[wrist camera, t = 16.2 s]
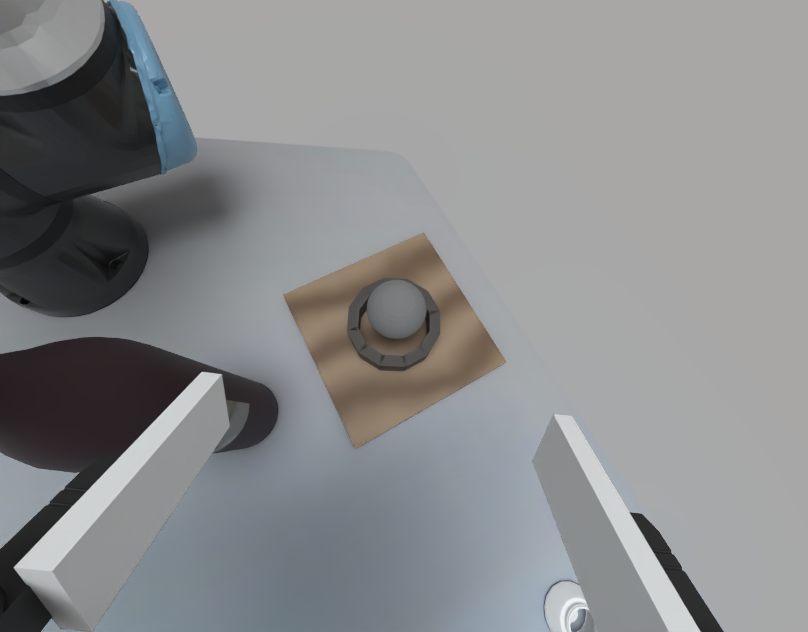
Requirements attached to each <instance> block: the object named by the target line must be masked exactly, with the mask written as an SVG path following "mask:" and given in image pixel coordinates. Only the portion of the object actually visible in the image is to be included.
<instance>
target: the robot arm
mask: <svg viewBox="0 0 808 632" xmlns="http://www.w3.org/2000/svg"><path fill="white" fill-rule="evenodd" d="M196 153H197V144H196V141H195V138H194V135H193V133H192V131H191V129H190V126H189V123H188V121H187V119H186V117H185V114H184V112H183V110H182V107H181V105H180V103H179V101H178V98H177V96H176V94H175V92H174V89H173V87H172V85H171V83H170V81H169V78H168V76H167V74H166V72H165V70H164V67H163V65H162V63H161V61H160V59H159V56H158V54H157V52H156V50H155V48H154V46H153V43H152V42H151V39H150V37H149V35H148V33H147V31H146V29H145V26H144V24H143V22H142V20H141V19H140V16H139V15H138V13H137V11H136V9H135V8H134V7H133V6H132V5H131V4H130V3H128V2H124V1H117V0H109V1H107V3H106V4H105V2H104V1H103V0H0V292H1V293H2V294H3V295H4V296H6V297H7V298H8V299H10V300H11V301H13V302H14V303H16V304H18V305H20V306H22V307H25V308H27V309H30V310H33V311H36V312H39V313H42V314H46V315H50V316H57V317H71V316H78V315H83V314H87V313H90V312H93V311H96V310H99V309H101V308H103V307H105V306H107V305H109V304H110V303H112V302H114V301H115V300H117V299H118V298H119V297H121V296H122V295H123V294H124V293H125V292H127V291H128V290H129V289H130V288H131V286H132V285H133V284H134V283H135V282H136V280H137V279H138V277H139V276H140V274H141V272H142V270H143V268H144V266H145V263H146V259H147V253H148V244H147V239H146V236H145V233H144V231H143V230H142V228H141V227H140V225H139V224H138V223H137V222H136V221H135V220H134V219H132V218H131V217H130V216H129V215H128V214H126V213H125V212H124V211H123V210H121V209H120V208H118V207H117V206H115V205H113V204H111V203H109V202H106V201H102V200H100V199H98V198H96V197H93V196H91V195H89V194H92V193H96V192H99V191H103V190H106V189H110V188H113V187H117V186H120V185H124V184H127V183H131V182H134V181H138V180H141V179H145V178H148V177H152V176H155V175H159V174H161V175H162V174H165V173H166V172H167V171H168V170H170V169H173V168H175V167H178V166H181V165H183V164H186V163H188V162H190V161H192V160H193V159H194V157H195V156H196ZM229 427H230V424H229V418H228V411H227V404H226V398H225V391H224V385H223V378H222V374H216V373H208V372H201V373H200V374H199V375H198V376H197V377H196V378H195V379H194V380H193V382H192V383H191V384H190V385H189V386H188V387H187V388H186V389H185V390H184V391H183V392H182V393H181V394H180V395H179V396H178V397H177V398H176V399H175V400H174V401H173V402H172V403H171V404H170V405H169V406H168V407H167V409H166V410H165V411H164V412H163V413H162V414H161V415H160V416H159V417H158V418H157V419H156V420H155V421H154V422H153V423H152V424H151V425H150V426H149V427H148V428H147V429H146V430H145V431H144V432H143V433H142V435H141V436H140V437H139V438H138V439H137V440H136V441H135V442H134V443H133V444H132V445H131V446H130V447H129V448H128V449H127V450H126V451H125V452H124V453H123V454H122V455H121V456H120V457H115V456H104V457H102V458H101V459H99V460H98V461H96V462H94V463H93V464H91V465H90V466H88V467H86V468H85V469H83V470H82V471H81V472H80V473H79V474H78V475H77V476H76V477H75V478H74V479H73V480H72V481H71V482H70V483H69V484H68V485H67V486H66V487H65V489H64V490H63V491H62V490H61V491H60V492H59V493H58V494H57V495H56V496H55V497H54V498H53V499H52V500H51V501H50V504H49V505H48V506H47V505H46V506H45V507H44V508H43V509H42V510H41V511H40V512H39V513H38V514H37V515H35V516H34V517H33V518H32V519H31V520H30V521H29V522H28V523H27V524H26V525H25V526H24V527H23V528H22V529H21V530H20V531H19V532H18V533H17V534H16V535H15V536H14V537H13V538H12V539H11V540H10V541H8V542H7V543H6V544H5V545H4V546H3V547H2V548H1V549H0V632H41V631H42V629H43V628H44V627H45V625H46V624H47V623H48V622H49V620H50V619H51V618H52V619H53V620H54V622H55V623H56V624H57V626H58V627H59V628H60V629H67V630H78V631H89V632H93V630H94V629H95V627H96V626H97V624H98V623H99V621H100V620H101V618H102V617H103V615H104V614H105V612H106V611H107V609H108V608H109V606H110V605H111V603H112V602H113V600H114V599H115V597H116V596H117V594H118V593H119V591H120V590H121V588H122V587H123V585H124V584H125V582H126V581H127V579H128V578H129V576H130V575H131V573H132V572H133V570H134V569H135V567H136V566H137V564H138V563H139V561H140V560H141V558H142V557H143V555H144V554H145V552H146V551H147V549H148V548H149V546H150V545H151V543H152V542H153V540H154V539H155V537H156V536H157V534H158V533H159V531H160V530H161V528H162V527H163V525H164V524H165V523H166V521H167V520H168V518H169V517H170V515H171V514H172V512H173V511H174V509H175V508H176V506H177V505H178V503H179V502H180V500H181V499H182V497H183V496H184V494H185V493H186V491H187V490H188V488H189V487H190V485H191V484H192V482H193V481H194V479H195V478H196V476H197V475H198V473H199V472H200V470H201V469H202V467H203V466H204V464H205V463H206V461H207V460H208V458H209V457H210V455H211V454H212V452H213V451H214V449H215V448H216V446H217V445H218V443H219V442H220V440H221V439H222V437H223V436H224V434H225V433H226V431H227V430H228V428H229ZM532 462H533V464H534V467H535V470H536V472H537V475H538V477H539V480H540V483H541V485H542V488H543V491H544V493H545V496H546V498H547V501H548V504H549V506H550V509H551V511H552V514H553V517H554V519H555V522H556V525H557V527H558V530H559V532H560V535H561V538H562V540H563V543H564V545H565V548H566V551H567V553H568V556H569V559H570V561H571V564H572V566H573V569H574V572H575V574H576V577H577V579H578V582H579V585H580V587H581V590H582V593H583V595H584V598H585V600H586V603H587V606H588V608H589V611H590V613H591V616H592V619H593V621H594V624H595V627H596V629H597V632H723V630H722V629H721V627H720V625H719V624H718V622H717V621H716V619H715V618H714V616H713V615H712V613H711V611H710V610H709V608H708V607H707V605H706V604H705V602H704V601H703V599H702V598H701V596H700V594H699V593H698V591H697V590H696V588H695V587H694V585H693V584H692V582H691V580H690V579H689V577H688V576H687V574H686V573H685V571H683V570H682V567H681V565H680V563H679V562H678V560H677V559H676V557H675V556H674V555H672V553H671V549H670V548H669V546H668V545H667V543H666V542H665V540H664V539H663V537H662V535H661V534H660V532H659V531H658V530H657V529H656V528H655V527H654V526H653V525H652V524H651V523H650V522H649V521H648V520H647V519H646V518H645V517H644V516H643V515H642V514H639V513H630V512H629V511H628V509H627V508H626V506H625V504H624V503H623V501H622V499H621V498H620V496H619V494H618V493H617V491H616V489H615V487H614V486H613V484H612V482H611V481H610V479H609V477H608V476H607V474H606V472H605V471H604V469H603V467H602V466H601V464H600V462H599V461H598V459H597V457H596V456H595V454H594V452H593V451H592V449H591V447H590V446H589V444H588V442H587V441H586V439H585V437H584V436H583V434H582V432H581V431H580V429H579V427H578V425H577V424H576V422H575V420H574V419H573V417H572V416H566V415H557V414H553V416H552V418H551V420H550V423H549V425H548V427H547V429H546V432H545V434H544V436H543V438H542V441H541V443H540V445H539V447H538V449H537V452H536V454H535V456H534V458H533V461H532Z"/></svg>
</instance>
